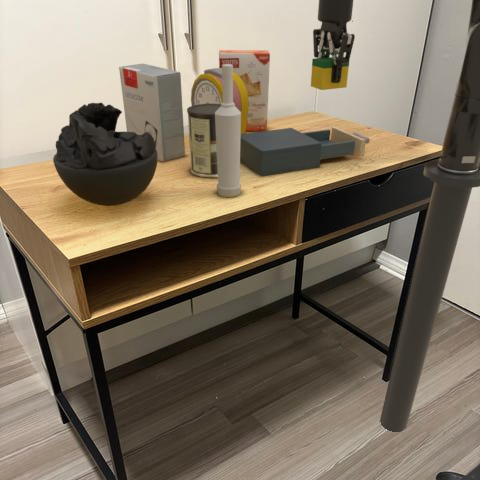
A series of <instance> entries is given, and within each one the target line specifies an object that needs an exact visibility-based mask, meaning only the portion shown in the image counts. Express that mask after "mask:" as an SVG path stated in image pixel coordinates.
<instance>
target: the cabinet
mask: <svg viewBox="0 0 480 480" xmlns="http://www.w3.org/2000/svg"><path fill="white" fill-rule="evenodd" d="M303 133H304V132H302V131H299V130H297V129H295V128H293V127H287V128H278V129H271V130H267V131H253V132H245V134H241V137H240V163H242V164H244V165H245V166H246V167H248V168H249V169H251V170H252V171H254V172H255V173H257V174H258V175H259V176H261V177H265V176H271V175H277V174H285V173H291V172H297V171H304V170H309V169H315V168H320V166H321V160H320V158H321V146H322V143H321V142H319V141H317V140H315V139H313V138H311V137H309V136H307V135H305V134H303Z"/></svg>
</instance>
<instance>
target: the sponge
mask: <svg viewBox="0 0 480 480" xmlns="http://www.w3.org/2000/svg"><path fill="white" fill-rule="evenodd" d="M337 59H338V56H337ZM311 60H312V61H311V74H310V75H311V76H310V87H312V88H315V89H318V90H321V91H327V90H335V89H336V90H337V89H346V88H347V86H348V76H349V67H350V61H349V62H348V63H345V64H344V65H342V73H341V80H340V82H339V83H332V82H331V76H332V65H333V61H332V56H330V57H328V58H317V57H314V58H312V59H311Z"/></svg>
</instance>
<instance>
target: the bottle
mask: <svg viewBox="0 0 480 480" xmlns="http://www.w3.org/2000/svg"><path fill="white" fill-rule="evenodd" d="M222 79H223V103H221V107H220V108H219V109H218V110H217V111H216V112H215V126H216V148H217V169H218V177H217V183H216V191H217V194H218V195H219V196H220V197H222V198H223V197H224V198H234V197H237V196H239V195H240V194H241V189H242V184H241V183H240V179H241V161H240V137H241V112H240V111H239V110H238V109H237V108H236V107H235V104H234V103H233V65H231V64H224V65H222Z"/></svg>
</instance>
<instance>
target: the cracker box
mask: <svg viewBox="0 0 480 480" xmlns="http://www.w3.org/2000/svg"><path fill="white" fill-rule="evenodd" d="M270 61H271V53H270V51H269V50H267V49H264V50H261V49H259V50H258V49H256V50H255V49H219V50H218V68H221V69H222V65H224V64H231V65H233V72H234V73H236V74H238V76H239V77H240V78H241V80H242V81H243V82H244V85H245V88H246V90H247V93H248V101H249V108H248V116H247V124H246V132H262V131H268V114H269V113H268V109H269V87H270Z"/></svg>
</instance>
